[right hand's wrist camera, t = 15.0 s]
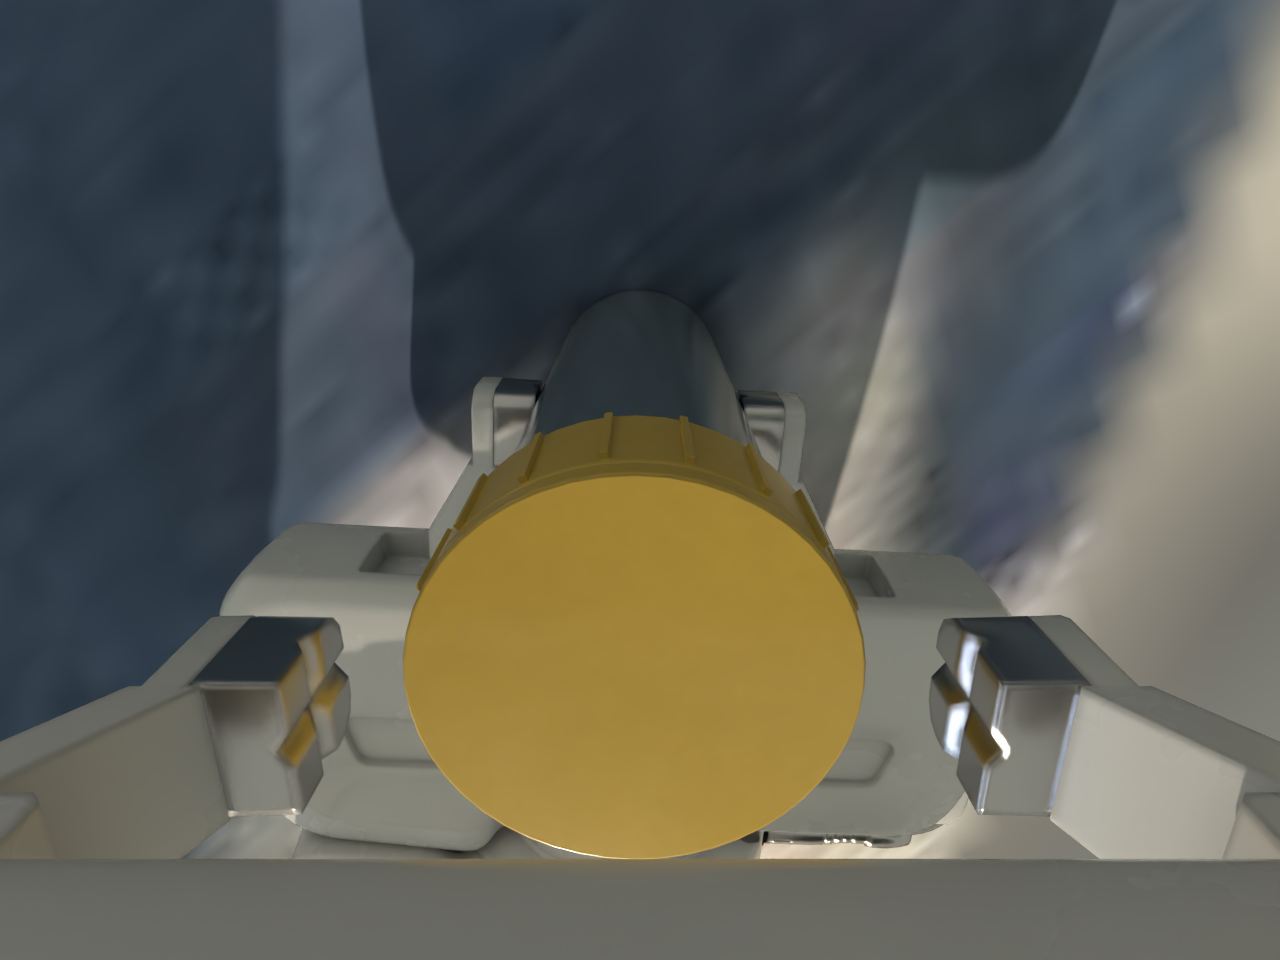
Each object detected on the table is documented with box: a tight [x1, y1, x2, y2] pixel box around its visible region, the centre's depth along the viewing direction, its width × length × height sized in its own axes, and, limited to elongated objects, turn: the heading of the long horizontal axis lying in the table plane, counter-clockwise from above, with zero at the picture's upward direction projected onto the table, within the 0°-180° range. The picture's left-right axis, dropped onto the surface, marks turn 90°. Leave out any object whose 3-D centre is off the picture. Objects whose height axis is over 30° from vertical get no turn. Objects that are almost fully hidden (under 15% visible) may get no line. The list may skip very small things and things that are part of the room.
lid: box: [403, 412, 866, 859], centre depth 10 cm, size 6×6×2 cm
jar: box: [513, 290, 763, 458], centre depth 17 cm, size 5×5×16 cm
